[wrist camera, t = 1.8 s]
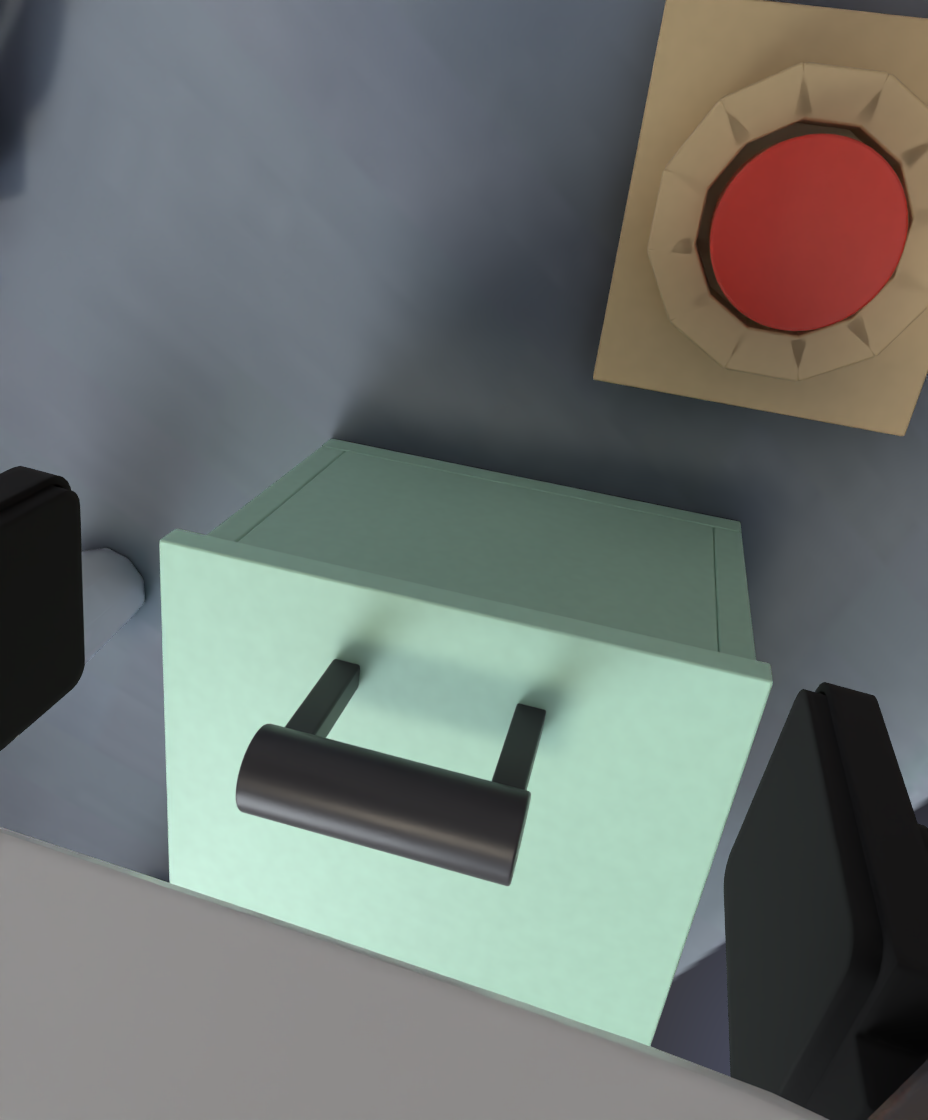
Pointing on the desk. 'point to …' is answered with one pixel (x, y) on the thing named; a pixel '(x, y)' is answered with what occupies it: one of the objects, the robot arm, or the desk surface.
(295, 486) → the green lidded box
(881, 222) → the release button
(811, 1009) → the robot arm
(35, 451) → the desk surface
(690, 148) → the button box
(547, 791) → the hinged box lid
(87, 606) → the milkshake
